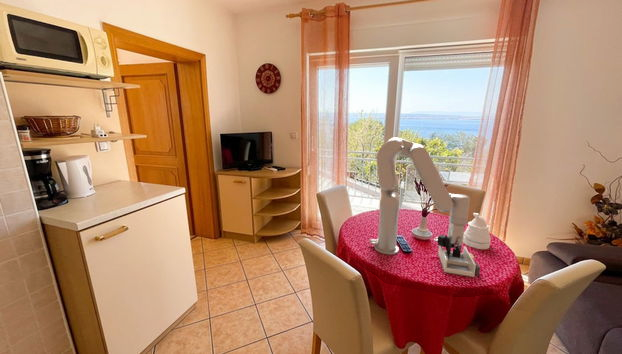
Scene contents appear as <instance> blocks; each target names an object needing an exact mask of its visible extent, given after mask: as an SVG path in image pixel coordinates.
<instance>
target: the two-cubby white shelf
mask: <svg viewBox="0 0 622 354" xmlns="http://www.w3.org/2000/svg"><path fill="white" fill-rule="evenodd" d="M469 253H470V252H469V251H468V249H467V247H466V246H463V250H462V253H461V254H460V258H458V257H453V256H452V254H453V251H451V253H450V255H449V256H450V259H448V254H447V252H446V250H444V248H443V246H439V245H438V253H437V255H438V258H439V260H440V263H441V267H442V270H443V271H444V274H451V275H457V276H464V277H468V278H469V277H470V278H475V268H476V264H475V262H476V261H475V260H474V261H473V259H472V257H471V256H470V254H469Z"/></svg>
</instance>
